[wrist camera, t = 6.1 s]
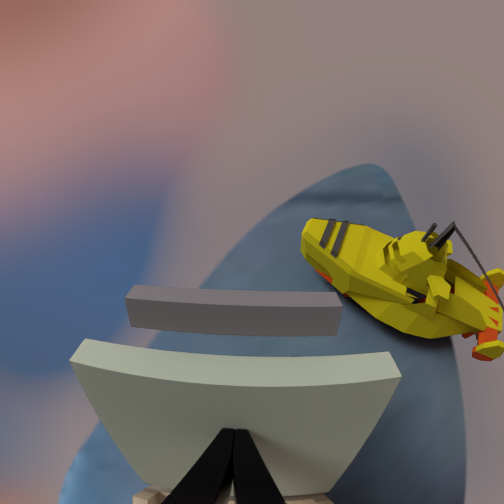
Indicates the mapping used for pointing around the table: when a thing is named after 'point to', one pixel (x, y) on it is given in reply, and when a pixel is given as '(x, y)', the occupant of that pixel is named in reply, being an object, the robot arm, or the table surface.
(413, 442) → the table surface
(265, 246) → the table surface
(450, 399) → the table surface
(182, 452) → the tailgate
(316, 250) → the toy boat
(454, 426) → the table surface
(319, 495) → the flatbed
